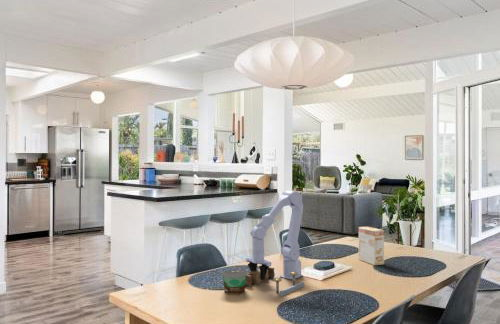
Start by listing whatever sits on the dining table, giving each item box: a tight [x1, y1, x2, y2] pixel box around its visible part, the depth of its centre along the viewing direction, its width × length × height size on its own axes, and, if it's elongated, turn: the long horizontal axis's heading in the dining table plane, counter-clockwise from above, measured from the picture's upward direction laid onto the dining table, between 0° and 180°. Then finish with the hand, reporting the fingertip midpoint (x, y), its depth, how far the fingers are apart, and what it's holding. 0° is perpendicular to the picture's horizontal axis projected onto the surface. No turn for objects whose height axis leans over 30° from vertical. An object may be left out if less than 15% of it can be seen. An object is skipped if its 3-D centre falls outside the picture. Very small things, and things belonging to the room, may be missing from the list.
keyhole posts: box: [272, 272, 298, 294], centre depth 199 cm, size 17×4×6 cm, turn 140°
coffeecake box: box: [357, 225, 385, 266], centre depth 248 cm, size 15×7×20 cm, turn 22°
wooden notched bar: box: [245, 266, 275, 288], centre depth 212 cm, size 19×5×5 cm, turn 140°
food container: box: [220, 269, 248, 295], centre depth 195 cm, size 12×6×10 cm, turn 105°
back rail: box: [279, 281, 305, 297], centre depth 197 cm, size 18×1×2 cm, turn 140°
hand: (258, 278), depth 212 cm, fingers closed on wooden notched bar, 5 cm apart
